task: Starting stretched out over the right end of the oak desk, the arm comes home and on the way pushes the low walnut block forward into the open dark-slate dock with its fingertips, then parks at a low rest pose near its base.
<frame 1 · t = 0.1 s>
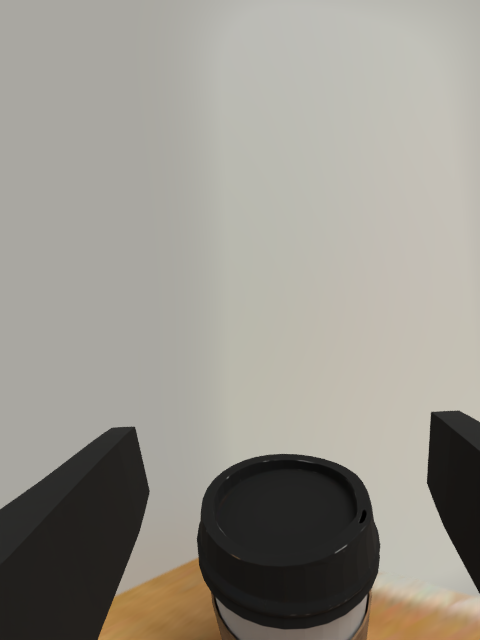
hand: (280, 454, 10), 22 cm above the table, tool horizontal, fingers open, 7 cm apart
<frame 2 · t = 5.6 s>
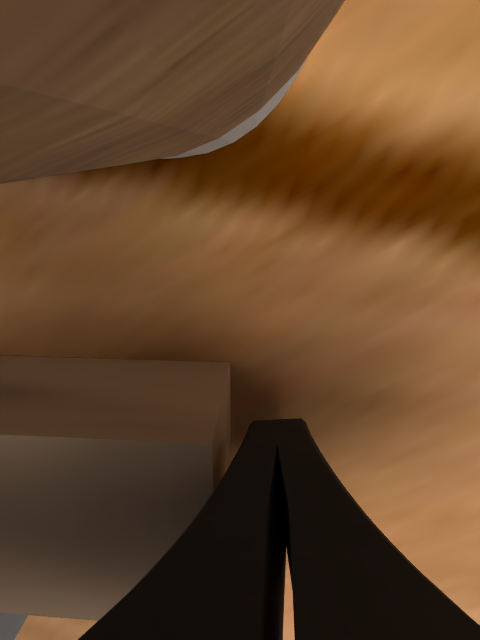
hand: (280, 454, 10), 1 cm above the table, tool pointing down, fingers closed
walnut block: (96, 434, 12), on the table
coffee cup: (172, 4, 8), on the table
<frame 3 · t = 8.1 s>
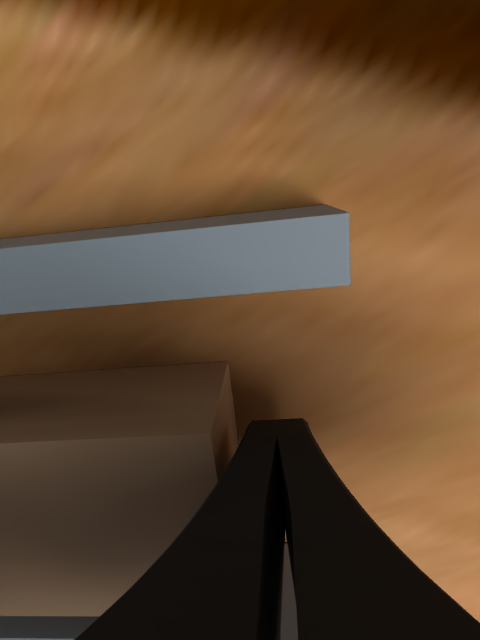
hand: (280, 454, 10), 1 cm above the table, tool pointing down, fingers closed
walnut block: (109, 439, 12), resting in slate dock
slate dock: (75, 431, 11), on the table
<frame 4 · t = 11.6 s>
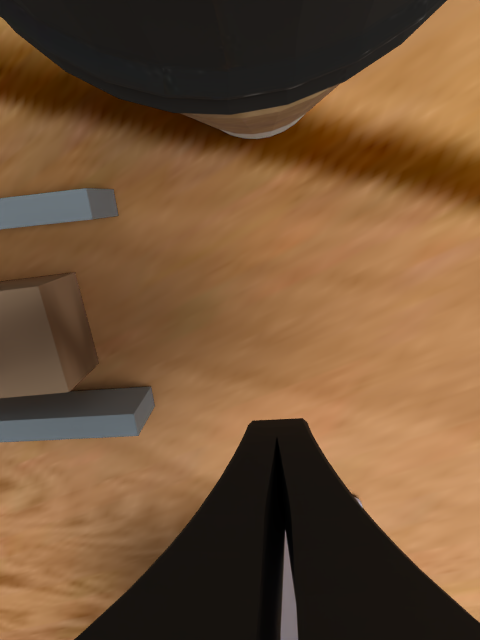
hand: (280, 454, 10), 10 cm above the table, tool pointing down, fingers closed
walnut block: (19, 325, 21), resting in slate dock
coffee cup: (254, 63, 16), on the table
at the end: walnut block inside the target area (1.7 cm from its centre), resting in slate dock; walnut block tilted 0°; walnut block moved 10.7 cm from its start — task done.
